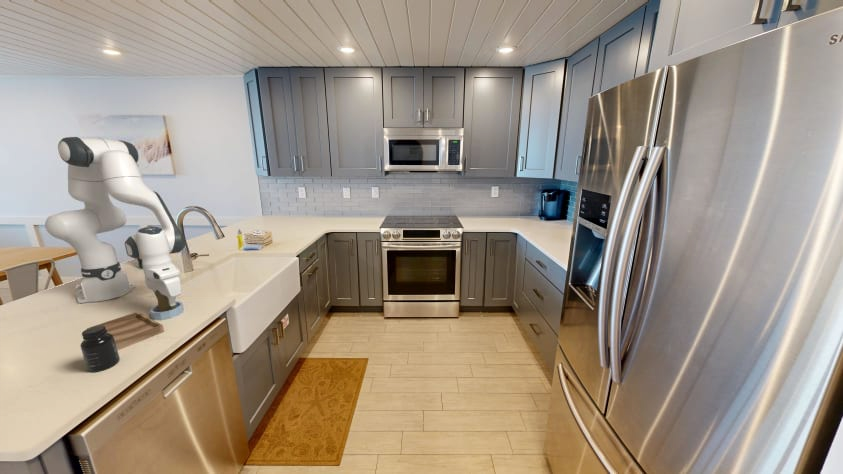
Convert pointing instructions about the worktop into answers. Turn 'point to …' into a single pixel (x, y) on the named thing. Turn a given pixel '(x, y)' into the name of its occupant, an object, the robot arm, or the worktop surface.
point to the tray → (132, 329)
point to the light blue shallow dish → (167, 312)
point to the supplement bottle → (99, 349)
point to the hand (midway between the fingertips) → (166, 302)
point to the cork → (163, 302)
